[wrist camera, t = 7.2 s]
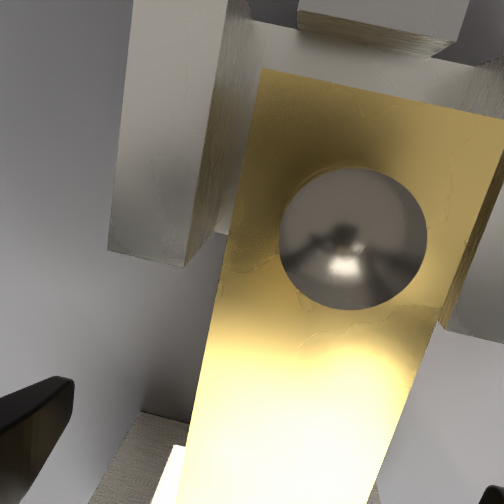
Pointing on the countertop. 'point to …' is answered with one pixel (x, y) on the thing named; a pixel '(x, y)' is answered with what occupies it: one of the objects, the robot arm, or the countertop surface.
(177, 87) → the chain ends
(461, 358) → the countertop surface
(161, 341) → the countertop surface
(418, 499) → the countertop surface
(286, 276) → the link
